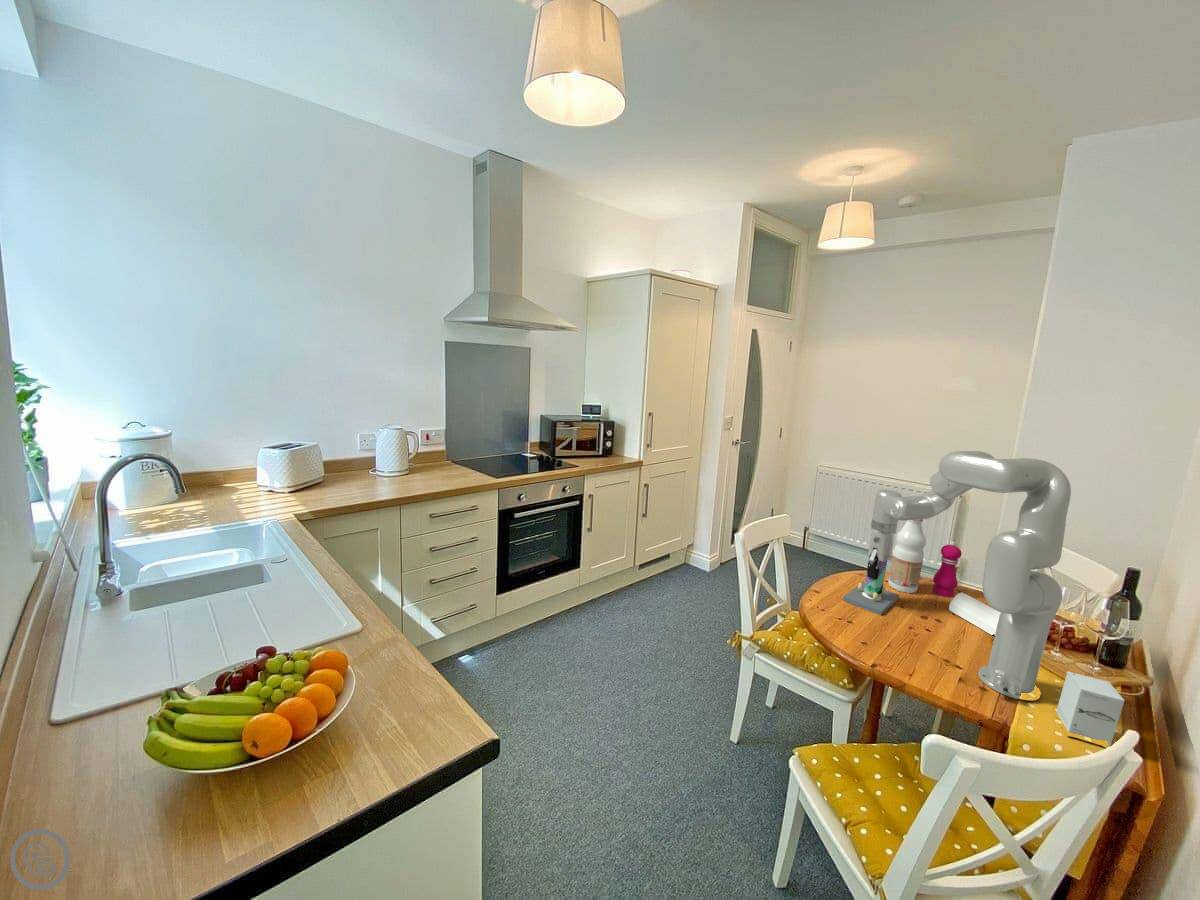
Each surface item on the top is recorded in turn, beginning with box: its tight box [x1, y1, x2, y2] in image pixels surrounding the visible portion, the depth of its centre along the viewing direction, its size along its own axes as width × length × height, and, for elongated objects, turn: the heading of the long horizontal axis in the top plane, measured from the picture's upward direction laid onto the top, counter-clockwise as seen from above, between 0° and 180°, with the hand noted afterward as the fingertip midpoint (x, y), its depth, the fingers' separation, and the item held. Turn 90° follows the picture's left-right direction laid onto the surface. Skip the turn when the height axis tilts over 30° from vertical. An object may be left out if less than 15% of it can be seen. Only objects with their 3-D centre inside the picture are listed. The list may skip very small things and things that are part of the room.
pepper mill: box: [932, 541, 962, 598], centre depth 172 cm, size 7×7×20 cm
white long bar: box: [948, 591, 1001, 636], centre depth 151 cm, size 7×7×24 cm
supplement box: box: [1055, 670, 1125, 749], centre depth 107 cm, size 7×7×13 cm
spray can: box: [864, 557, 889, 596], centre depth 163 cm, size 6×6×20 cm
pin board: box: [842, 581, 900, 616], centre depth 165 cm, size 18×12×4 cm, turn 132°
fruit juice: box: [887, 519, 927, 594], centre depth 173 cm, size 9×9×28 cm
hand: (875, 575), depth 164 cm, fingers closed on spray can, 5 cm apart
